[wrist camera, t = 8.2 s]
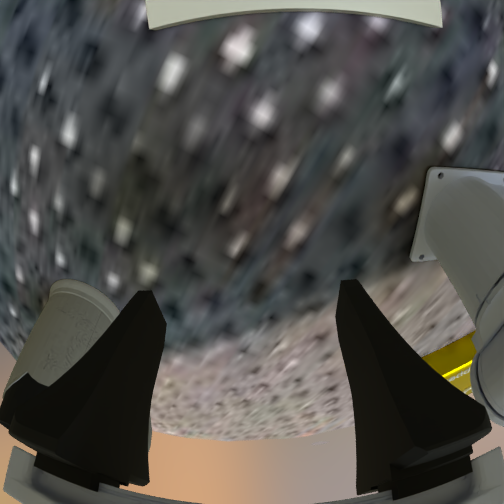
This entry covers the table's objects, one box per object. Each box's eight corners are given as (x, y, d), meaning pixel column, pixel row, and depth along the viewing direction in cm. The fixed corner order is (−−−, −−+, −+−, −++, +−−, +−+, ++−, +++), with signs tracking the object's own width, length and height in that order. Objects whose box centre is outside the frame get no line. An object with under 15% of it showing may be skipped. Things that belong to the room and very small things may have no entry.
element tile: (499, 312, 28) (514, 340, 24) (490, 358, 35) (499, 380, 31) (403, 362, 33) (412, 393, 29) (415, 395, 40) (421, 419, 36)
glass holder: (52, 265, 23) (-22, 403, 11) (184, 328, 27) (158, 482, 16) (49, 313, 28) (0, 426, 16) (157, 363, 32) (134, 483, 20)
